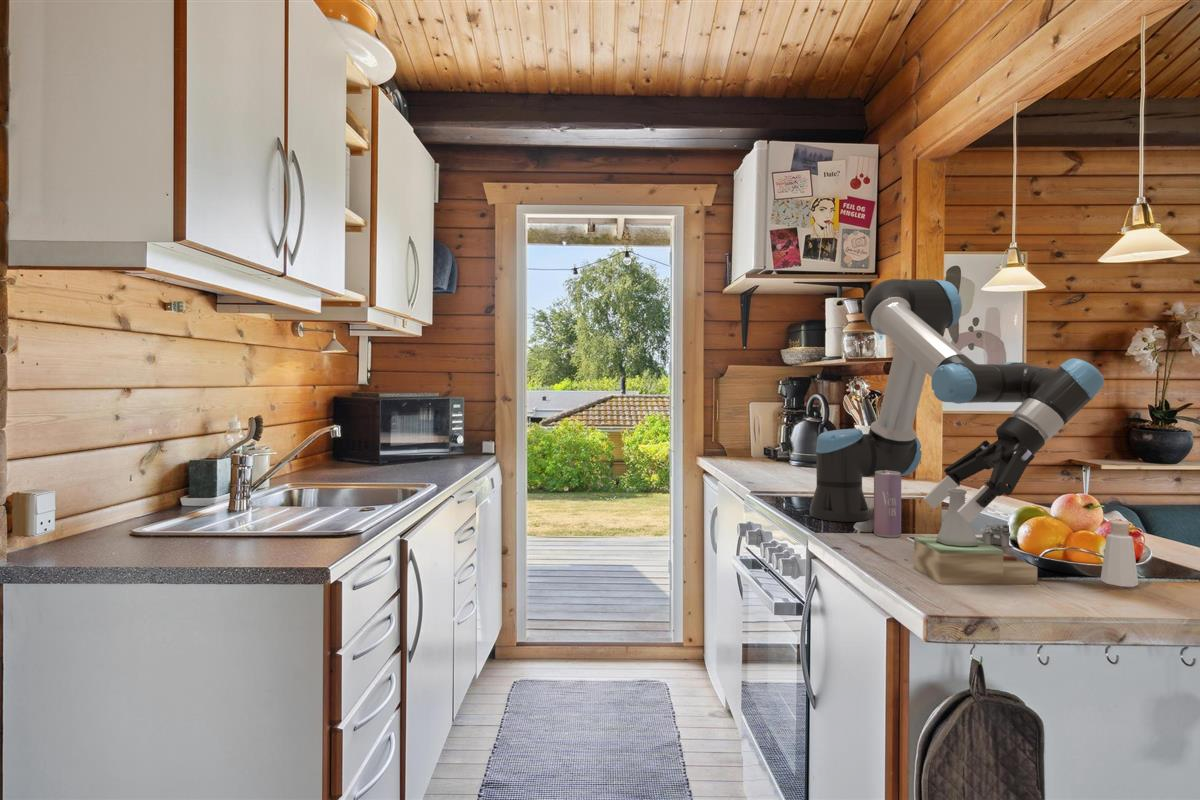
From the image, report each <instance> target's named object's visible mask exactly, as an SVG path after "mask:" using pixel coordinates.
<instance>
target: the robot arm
mask: <svg viewBox="0 0 1200 800" xmlns="http://www.w3.org/2000/svg"><path fill="white" fill-rule="evenodd" d="M962 308H963V307H962V299H961V295H960V293H959V290H958V289H957V288H956V286H955V285H954V284H953V283H951V282H950V281H947V280H940V279H934V278H930V279H928V278H925V279H924V278H923V279H922V278H921V279H920V278H919V279H913V278H912V279H911V278H909V279H908V278H907V279H905V278H903V279H902V278H891V279H885V280H883V281H880V282H879V283H876V284H875V285H874V286H872V288H870V290H868V292H867V294H866V295H865V297H864V300H863V303H862V313H863V317H864V320H865V321H866V323H867V324H868V326H869V327H870V328H871V329H873V331H874V332H876V333H877V334H879V335H883V336H887V337H888V338H889V339H890V340H891V341H892V342H893V343H894V344H895V349H894V353H893V357H892V361H891V365H890V368H889V373H888V377H887V381H886V385H885V388H884V389H885V390H884V394H883V398H882V403H881V406H880V411H879V415H878V417H877V418H878V419H876V420H875V421H873V422H871V423H870V425H869V426H870V427H869V431H868V433H863V431H862V429H860V428H847V429H843V428H842V429H835V430H828V431H824V432H821V433H820V434H819V435H818V436H817V438H816V447H815V452H816V454H815V456H816V460H815V461H816V462H815V463H816V488H815V492H814V493H813V497H812V499H811V503H810V504H809V505H810V506H809V516H810V517H811V518H814V519H818V520H824V521H831V522H847V523H848V522H849V523H850V522H863V521H867V520H870V519H869V518H870V509H869V506H868V503H867V500H866V497H865V494H864V491H863V478H874V475H875V471H897V472H900V473H901V474H900V475H901V477H903V476H904V477H905V476H909V475H911V474H912V473H913V472H915V471H916V469H918V467H919V466H920V465H919V464H920V462H921V458H922V450H921V449H922V444H921V441H920V439H919V438H918V437H917V432H916V430H915V429H914V427H913V425H914V422H915V418H916V415H917V411H918V407H919V404H920V403H919V402H920V399H921V395H922V392H923V387H924V384H925V381H926V378H927V377H926V376H927V375H928V376H929V377H930V378H931V386H930V387H931V389H932V391H933V394H934V396H935V398H936V399H937V400H939V401H941V402H944V403H952V404H953V403H954V404H959V405H960V404H971V403H974V404H975V403H977V404H978V403H1020V405H1019V406H1018V407H1016V409H1015V410H1014V411H1013V412H1012V413H1011V416H1010V417H1007V418H1006V419H1005V420H1004V421H1003V422H1002V423H1001V424H1000V425H999V426H998V427H997V428H996V430H995V434H996V436H997V440H995V441H994V442H993V443H990V442H989V441H988V440H983V441H982V442H981V443H980V444H979V445H978V446H977V447H976V448H974V449H973V450H971V451H970V452H968V453H966V454H965V455H964V456H962V457H961V458H959V459H957V460H956V461H954V462H953V463H952V464H950V465H949V466H948V467H946V468H945V469H944V470H943V471H944V473H945V476H944V478H942V480H940V481H939V482H938V483H937V484H936V485H935V486H934V487H933V488H932V489H931V490H930V491H929V492H928V493H927V494H926V495H925V496H924V497H923V498H922V500H923V501H925V502H926V503H927V504H928V505H929V506H930V507H931V508H932V509H933V510H935V509H937V507H938V506H939V505H940V504H941V503H942V502H944V501H945V500H946V498H948V497H949V496H950V493H949V492H948V489H958V487H960V486H961V482H963V481H964V480H966V479H968V478H971V477H972V476H974V475H976V474H978V473H980V472H981V471H983V470H991V469H992V471H991V474H990V478H989V480H988V481H985V482H984V484H985V485H982V486H981V487H980V488H979V489H978V490H977V491H976V492H975V493H974V494H973V495H972V496H971V497H970V498H969V499H968V500H967V501H965V504H964V505H963V506H962V507H961V508H960V509H959V510H958V511H957V512H958V513H959V514H960V515H961V516H962V517H963V518H964V519H965V520H966V521H967V522H969V523H970V522H971V523H972V522H973V520H975V519H976V517H978V516H979V515H980V514H981V512H982V511H984V510H985V509H986V508H987V507H988V506H989V505H990V504H991V503H992V502H993V501H994V500H995V499H996V498H997V497H1001V496H1003V495H1005V496H1010V495H1011V494H1012V493H1013V491H1014V489H1015V488H1016V486H1017V484H1018V483H1019V481H1020V479H1021V477H1022V476H1023V474H1024V472H1025V471H1026V469H1027V467H1028V465H1029V464H1030V463H1031V462H1032V461H1033V460H1034V459H1035V454H1037V453H1038V451H1039V450H1040V449H1042V448H1043V447H1044V446H1045V442H1047V441H1049V440H1050V439H1051V438H1053V437H1054V436H1055V437H1056V436H1058V432H1059V431H1060V430H1061V429H1062V428H1063V427H1064V426H1065V425H1066V424H1067V423H1068V422H1069V421H1070V420H1071V419H1072V418H1074V416H1076V415H1077V414H1078V413H1079V412H1080V411H1082V409H1083V408H1084V407H1085V406H1086V405H1087V404H1088V403H1089V402H1091V401H1092V400H1093V399H1094V397H1095V396H1096V395H1097V394H1098V393H1099V392H1100V390H1101V389H1102V388H1103V386H1104V385H1105V379H1104V376H1103V374H1102V373H1101V372H1100V370H1098V369H1097V368H1096V367H1095V366H1094V365H1093V364H1091V363H1089V362H1088V361H1085V360H1083V359H1079V358H1074V357H1073V358H1070V359H1067V360H1066V361H1064V362H1063V363H1061V364H1060V365H1059V367H1058V368H1051V367H1050V368H1049V367H1045V366H1044V367H1043V366H1038V365H1033V364H1030V363H1029V364H1028V363H1026V362H1015V361H1008V362H1004V363H1001V364H997V363H996V364H994V363H990V364H987V363H985V364H983V363H981V364H978V363H976V362H974V361H973V360H972V359H970V358H969V357H968V356H967V355H965V354H964V353H963V352H962V351H960V349H958V348H957V347H956V346H955V345H953V344H952V342H950V341H949V340H947V339H946V338H945V337H944V335H945V332H946V329H950V328H953V327H955V325H956V324H957V323H958V322H959V320H960V318H961V316H962Z"/></svg>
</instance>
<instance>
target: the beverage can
mask: <svg viewBox="0 0 1200 800" xmlns="http://www.w3.org/2000/svg"><path fill="white" fill-rule="evenodd" d="M900 474H901V473H900V472H897V471H875V475H874V477H873V533H874V534H875V536H877V537H880V538H887V539H889V538H891V539H894V538H898V537H900V536H901V535H902V476H901V475H900Z"/></svg>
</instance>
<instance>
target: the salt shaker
mask: <svg viewBox="0 0 1200 800" xmlns="http://www.w3.org/2000/svg"><path fill="white" fill-rule="evenodd" d="M1109 524H1110V533H1108V534H1106V538H1105V545H1104V551H1103V557H1102V558H1103V559H1102V566H1101V573H1100V581H1101V582H1103V583H1104V584H1107V585H1111V586H1117V587H1124V588H1125V587H1128V588H1134V587H1136V586H1138V585H1139V578H1138V570H1137V569H1138V568H1137V561H1136V560H1137V559H1136V555H1135V554H1136V553H1135V551H1136V550H1135V544H1134V539H1133V536H1131V535H1129V534H1130V533H1129V531H1130V525H1131V524H1130V523H1129V522H1128V521H1126V520H1125V521H1124V520H1116V519H1115V520H1111V521H1109Z"/></svg>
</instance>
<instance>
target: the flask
mask: <svg viewBox="0 0 1200 800" xmlns="http://www.w3.org/2000/svg"><path fill="white" fill-rule="evenodd" d="M967 491H968V490H967V489H964V488H956V489H948V492H949V493H950V494H949V502H948V508H947V510H946V514H945V516H944V520H943V522H942V524H941V526H940V529H939V531H938V534H937V536H936V537H937V540H936V541H937V542H940V543H943V544H946V545H956V546H978V541H977V539H978V538H977V536H976V532H975V531H974V528H973V526H972V521H971V522H970V523H969V522H967V521H966V520H965V519H964V518H963V517H962V516H961V515H960V514H959V513H958V512H957V511H958V510H959V509H960V508H961V507H962V506H963V505H964V504H965V503H966V494H968V493H967Z"/></svg>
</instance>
